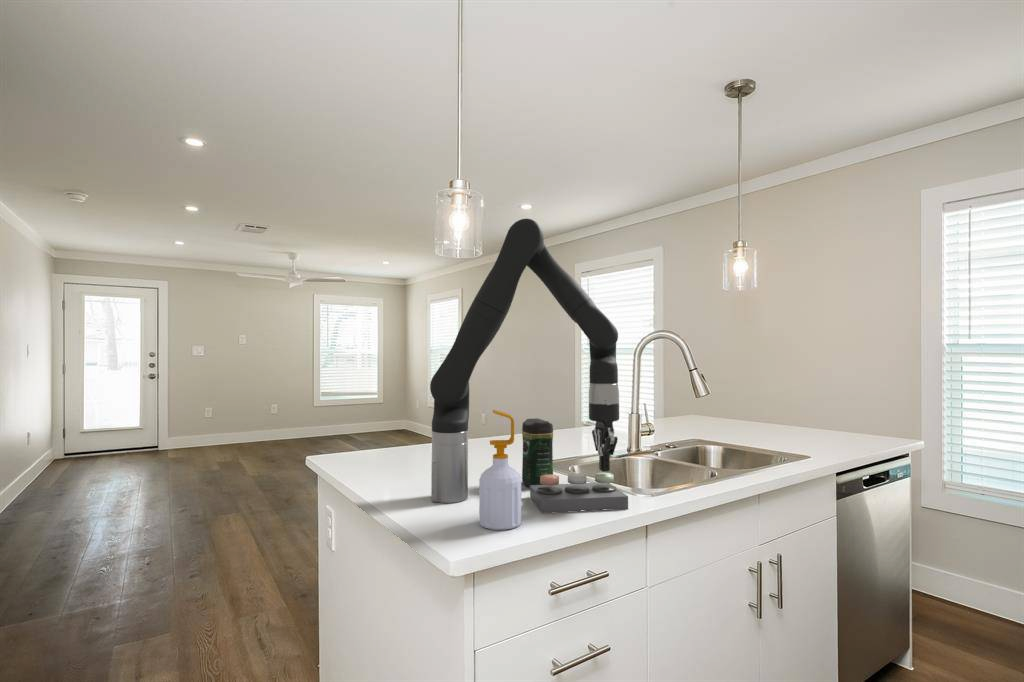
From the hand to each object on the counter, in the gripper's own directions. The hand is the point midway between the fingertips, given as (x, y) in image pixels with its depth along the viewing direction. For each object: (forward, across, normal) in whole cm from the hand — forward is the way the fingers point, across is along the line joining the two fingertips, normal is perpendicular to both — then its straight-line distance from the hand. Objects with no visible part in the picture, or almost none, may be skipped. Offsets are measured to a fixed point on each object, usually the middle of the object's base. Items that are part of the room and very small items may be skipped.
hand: (604, 470), depth 132 cm
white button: (+2, 0, -7) cm, 7 cm away
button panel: (+8, 0, -7) cm, 10 cm away
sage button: (+3, 0, 0) cm, 3 cm away
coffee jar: (+8, -19, -13) cm, 24 cm away
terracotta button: (+2, 0, -14) cm, 14 cm away
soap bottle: (+8, +13, -28) cm, 32 cm away
